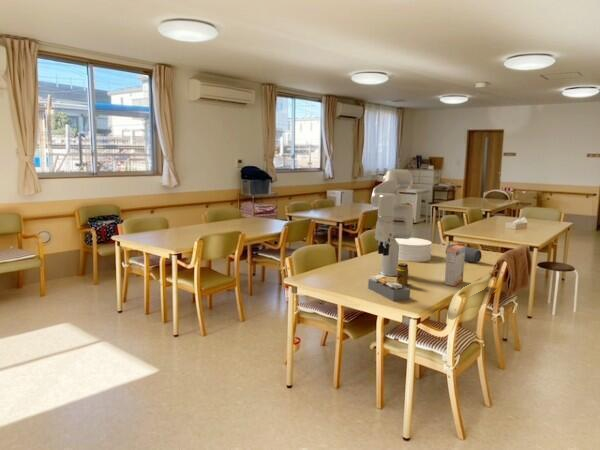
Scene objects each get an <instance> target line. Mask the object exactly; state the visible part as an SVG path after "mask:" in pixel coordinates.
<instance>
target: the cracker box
mask: <svg viewBox="0 0 600 450" xmlns="http://www.w3.org/2000/svg"><path fill="white" fill-rule="evenodd" d="M454 245H455V246H453V247H451V248H448V249H447V255H446V254H445V255H446V256H445V258H446V259H445V274H444V275H445V277H444V285H446V286H451V287H455V286H457V285H459V284H461V283H462V282H463V281H464V271H465V262H464V258H465V247H466V246H464V245H459V244H457V245H456V244H454Z"/></svg>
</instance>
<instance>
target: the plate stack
mask: <svg viewBox="0 0 600 450" xmlns="http://www.w3.org/2000/svg"><path fill="white" fill-rule="evenodd" d="M395 240H396V241H397V242H398V244H399V255H398V261H399V260H400V261H405V262H425V261H427V262H428V261H430V260H432V259H431V258H432V256H431V255H432V246H433V245H432V244H433V242H432V241H430V240H428V239H424V238H417V237H411V238H409V239H400V238H395Z"/></svg>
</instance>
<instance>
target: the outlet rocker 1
mask: <svg viewBox="0 0 600 450" xmlns="http://www.w3.org/2000/svg"><path fill="white" fill-rule="evenodd" d="M379 278H380V279H387V275H382V274H380V273H379V274H377V275H373V276H370V279H371V280H373V281H375V282H377V281H379Z"/></svg>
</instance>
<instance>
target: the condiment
mask: <svg viewBox="0 0 600 450" xmlns="http://www.w3.org/2000/svg"><path fill="white" fill-rule="evenodd" d="M408 267H409V266H408V264H407V263H403V262H402V263H401V262H400V263H398V269H397V276H396V283H398V284H401V285H402V286H404V287H406V288H408V287H410V286H412V283H408V281H409V280H408V279H409V268H408Z"/></svg>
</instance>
